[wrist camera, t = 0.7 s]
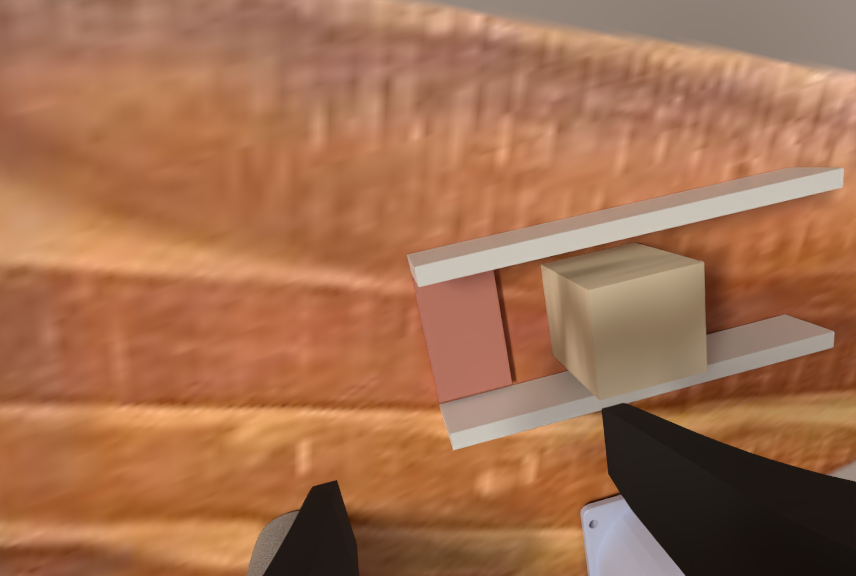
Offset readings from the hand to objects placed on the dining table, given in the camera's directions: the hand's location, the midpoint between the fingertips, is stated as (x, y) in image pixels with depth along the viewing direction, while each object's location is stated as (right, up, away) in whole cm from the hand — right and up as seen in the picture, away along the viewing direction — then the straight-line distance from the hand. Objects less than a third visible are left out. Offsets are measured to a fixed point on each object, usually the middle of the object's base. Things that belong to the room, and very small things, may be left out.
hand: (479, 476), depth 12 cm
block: (+6, +4, +10) cm, 12 cm away
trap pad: (0, +3, +9) cm, 10 cm away
